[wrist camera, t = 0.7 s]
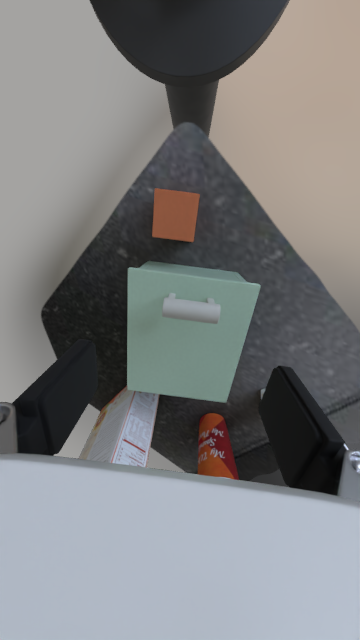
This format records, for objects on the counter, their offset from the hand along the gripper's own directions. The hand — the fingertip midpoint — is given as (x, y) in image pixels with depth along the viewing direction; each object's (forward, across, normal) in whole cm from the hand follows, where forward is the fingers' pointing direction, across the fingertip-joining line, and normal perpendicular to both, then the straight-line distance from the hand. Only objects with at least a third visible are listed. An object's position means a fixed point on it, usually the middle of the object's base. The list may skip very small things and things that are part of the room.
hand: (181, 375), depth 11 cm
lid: (+13, 0, +5) cm, 14 cm away
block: (+22, +3, -8) cm, 24 cm away
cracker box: (+23, +8, +27) cm, 36 cm away
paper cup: (+23, -10, +31) cm, 40 cm away
